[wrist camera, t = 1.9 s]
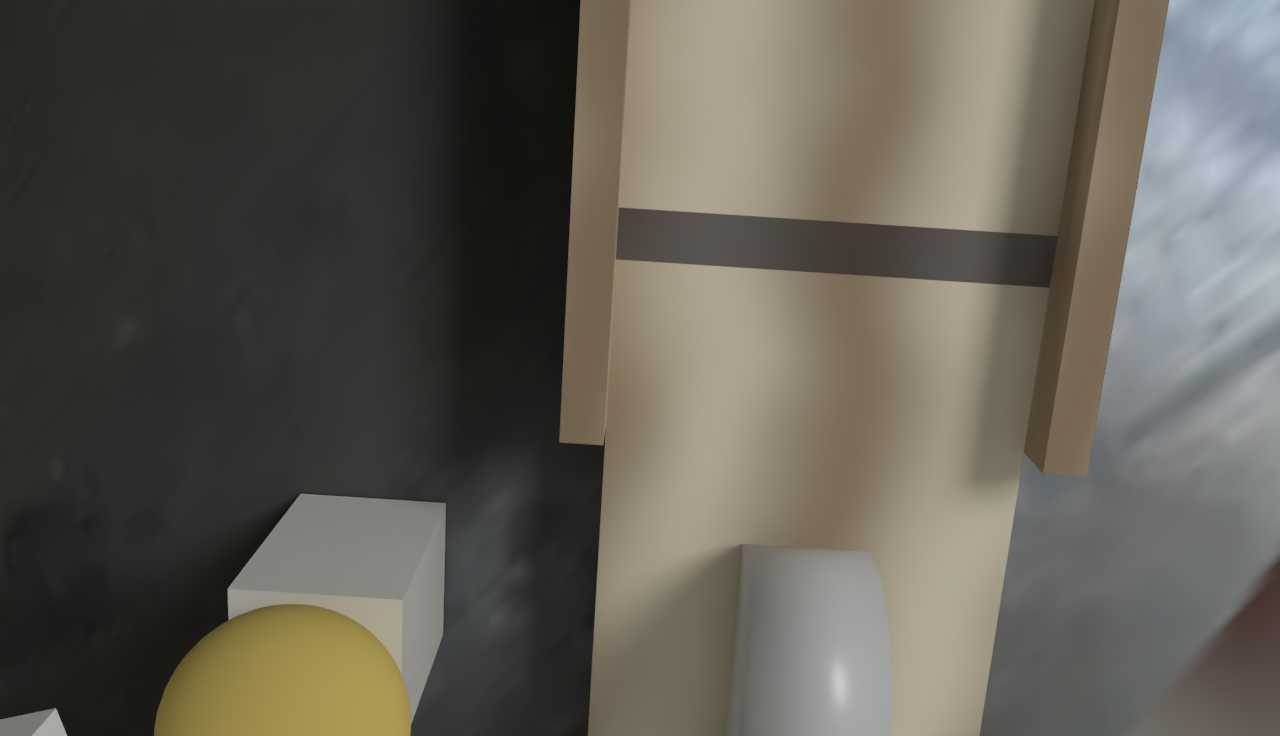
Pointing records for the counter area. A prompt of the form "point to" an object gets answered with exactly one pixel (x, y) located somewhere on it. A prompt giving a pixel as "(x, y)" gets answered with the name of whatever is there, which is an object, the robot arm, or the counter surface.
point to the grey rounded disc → (809, 645)
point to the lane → (837, 312)
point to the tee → (358, 572)
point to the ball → (286, 679)
